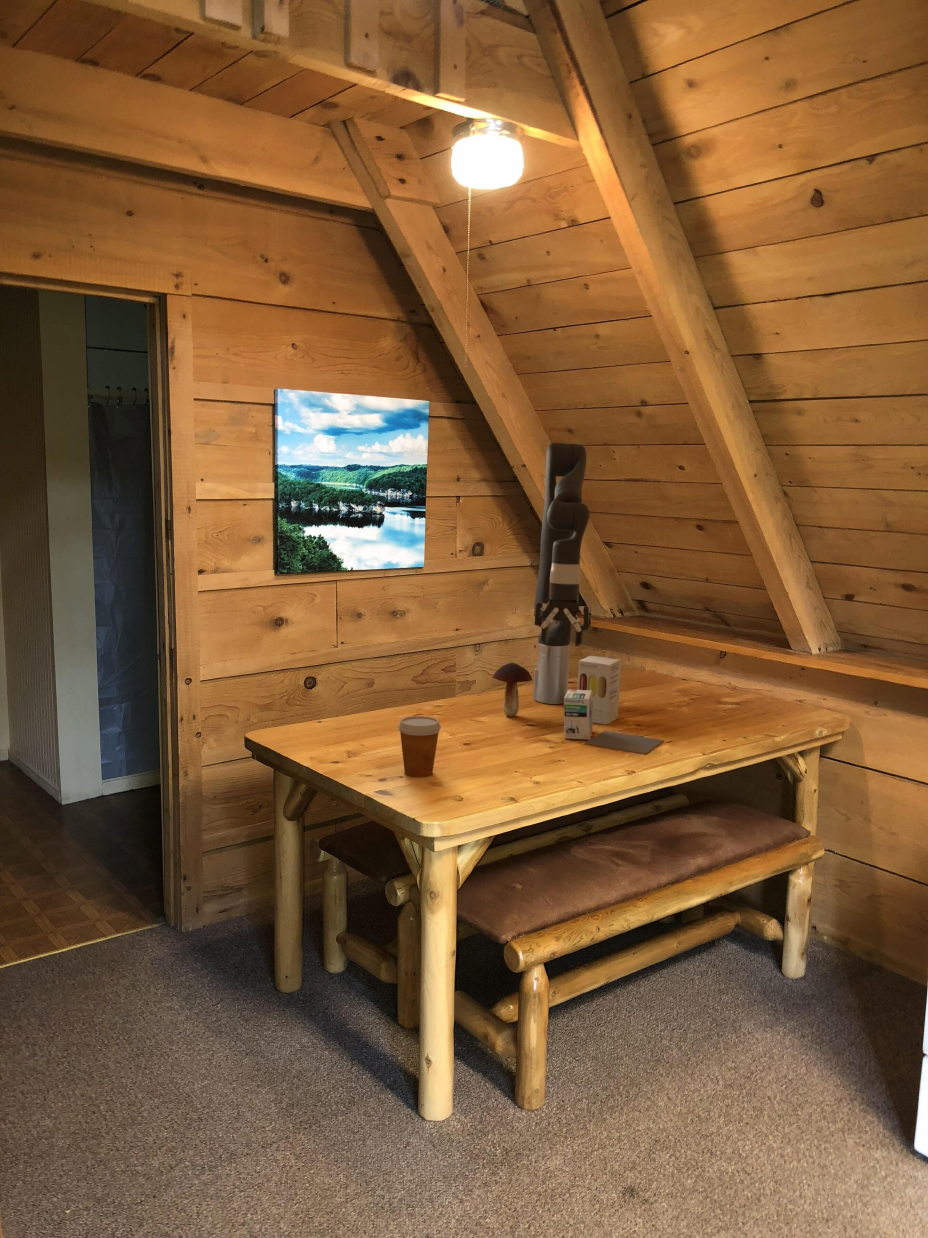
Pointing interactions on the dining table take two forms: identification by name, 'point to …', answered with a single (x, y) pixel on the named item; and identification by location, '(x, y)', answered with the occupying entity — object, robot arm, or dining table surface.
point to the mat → (624, 742)
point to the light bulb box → (578, 714)
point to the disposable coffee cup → (419, 744)
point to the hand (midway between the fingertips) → (561, 644)
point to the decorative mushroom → (511, 685)
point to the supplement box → (601, 686)
